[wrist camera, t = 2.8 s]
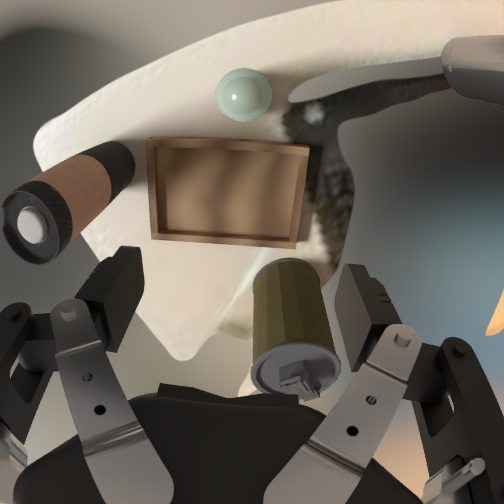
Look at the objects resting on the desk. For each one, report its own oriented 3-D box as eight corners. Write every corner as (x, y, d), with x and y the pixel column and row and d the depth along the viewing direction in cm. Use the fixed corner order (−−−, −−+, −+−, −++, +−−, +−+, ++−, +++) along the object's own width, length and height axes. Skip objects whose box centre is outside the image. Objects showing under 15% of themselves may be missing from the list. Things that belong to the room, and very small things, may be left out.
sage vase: (270, 74, 34) (277, 67, 22) (266, 114, 37) (272, 129, 25) (227, 72, 34) (211, 64, 22) (224, 112, 37) (208, 125, 25)
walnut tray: (307, 145, 39) (309, 148, 37) (294, 242, 46) (295, 249, 44) (151, 136, 38) (146, 139, 36) (155, 233, 45) (151, 239, 43)
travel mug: (146, 176, 41) (76, 248, 24) (106, 200, 43) (29, 277, 25) (120, 129, 38) (28, 172, 20) (80, 156, 39) (-12, 213, 22)
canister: (240, 274, 48) (232, 381, 31) (305, 247, 46) (329, 350, 29) (271, 322, 53) (275, 425, 36) (329, 300, 51) (355, 402, 33)
